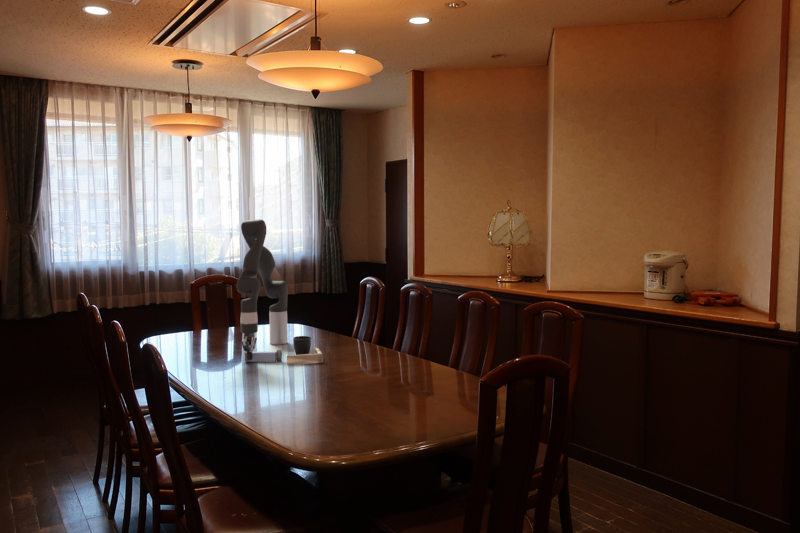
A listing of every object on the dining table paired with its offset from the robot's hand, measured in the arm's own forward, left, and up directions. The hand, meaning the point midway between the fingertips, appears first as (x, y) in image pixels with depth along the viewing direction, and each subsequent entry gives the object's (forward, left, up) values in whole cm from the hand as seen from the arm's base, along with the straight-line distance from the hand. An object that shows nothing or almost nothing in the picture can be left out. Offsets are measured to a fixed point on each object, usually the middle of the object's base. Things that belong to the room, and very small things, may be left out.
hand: (249, 359), depth 271 cm
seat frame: (0, +24, -2) cm, 24 cm away
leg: (-2, +5, -1) cm, 6 cm away
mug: (-8, +24, -2) cm, 25 cm away
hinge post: (0, +13, -2) cm, 13 cm away
